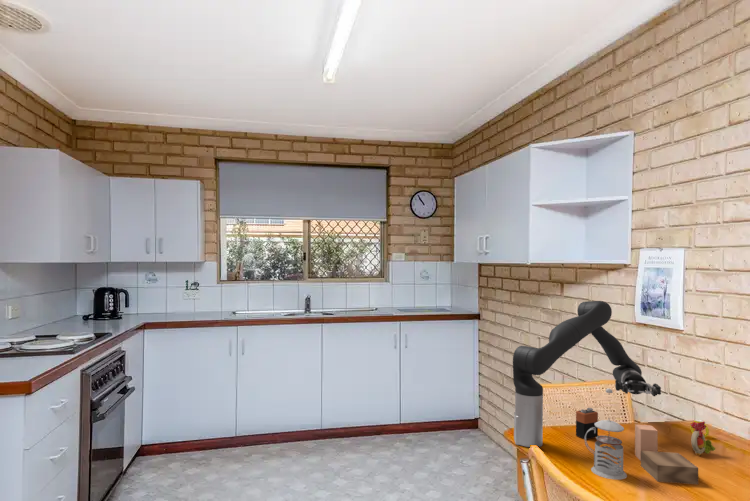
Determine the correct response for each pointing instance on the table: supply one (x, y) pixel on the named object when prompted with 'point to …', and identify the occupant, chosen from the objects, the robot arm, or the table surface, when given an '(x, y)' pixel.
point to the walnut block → (669, 467)
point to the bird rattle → (700, 439)
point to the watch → (705, 428)
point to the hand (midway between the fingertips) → (640, 392)
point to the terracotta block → (645, 439)
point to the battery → (586, 423)
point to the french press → (608, 451)
